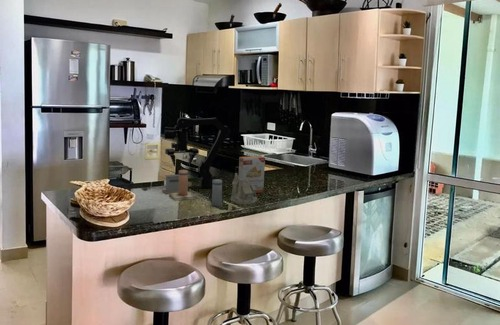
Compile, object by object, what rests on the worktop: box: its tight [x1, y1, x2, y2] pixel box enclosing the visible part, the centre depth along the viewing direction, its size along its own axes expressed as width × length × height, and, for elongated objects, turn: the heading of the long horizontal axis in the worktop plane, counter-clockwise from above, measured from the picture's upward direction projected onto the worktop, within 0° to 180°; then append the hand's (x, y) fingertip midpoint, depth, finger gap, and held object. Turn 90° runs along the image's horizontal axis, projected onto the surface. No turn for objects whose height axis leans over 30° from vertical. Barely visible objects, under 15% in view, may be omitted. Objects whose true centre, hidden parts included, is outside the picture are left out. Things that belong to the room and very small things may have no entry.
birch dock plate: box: [168, 191, 198, 202], centre depth 243 cm, size 12×11×2 cm
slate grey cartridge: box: [211, 178, 223, 207], centre depth 229 cm, size 5×5×13 cm
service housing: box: [162, 174, 179, 195], centre depth 254 cm, size 11×7×10 cm, turn 117°
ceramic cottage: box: [230, 172, 258, 206], centre depth 241 cm, size 16×16×15 cm
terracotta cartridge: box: [178, 169, 189, 195], centre depth 242 cm, size 5×5×13 cm
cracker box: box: [238, 155, 266, 194], centre depth 258 cm, size 14×6×21 cm, turn 117°
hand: (182, 165), depth 265 cm, fingers open, 9 cm apart
